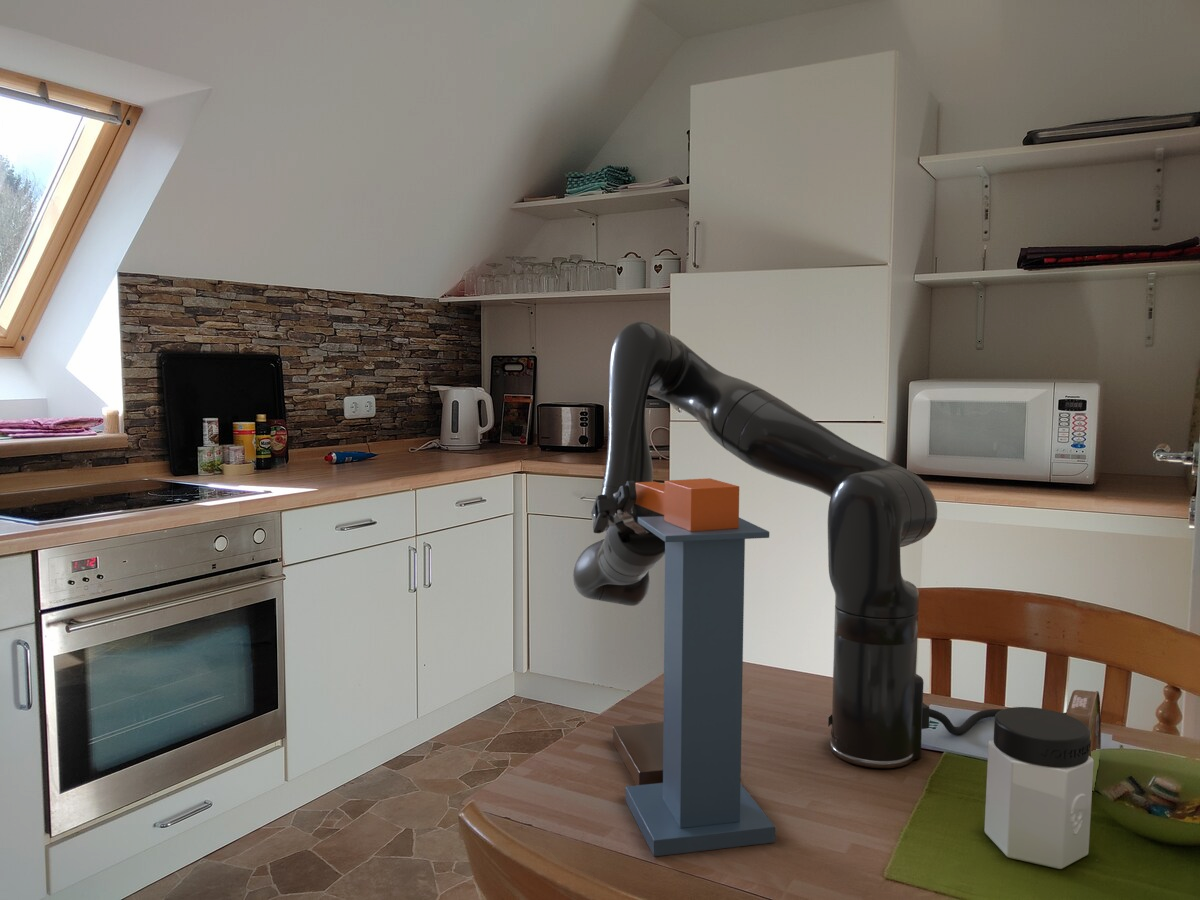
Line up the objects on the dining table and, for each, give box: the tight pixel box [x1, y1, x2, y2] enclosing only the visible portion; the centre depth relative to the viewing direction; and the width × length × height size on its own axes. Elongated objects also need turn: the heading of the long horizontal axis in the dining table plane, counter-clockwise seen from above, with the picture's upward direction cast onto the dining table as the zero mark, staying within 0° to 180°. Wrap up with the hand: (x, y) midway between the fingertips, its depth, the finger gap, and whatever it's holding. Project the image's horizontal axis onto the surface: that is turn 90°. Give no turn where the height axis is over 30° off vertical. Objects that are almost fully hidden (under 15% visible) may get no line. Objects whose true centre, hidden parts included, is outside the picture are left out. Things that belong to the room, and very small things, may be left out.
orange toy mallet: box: [635, 477, 740, 532], centre depth 93 cm, size 5×16×4 cm, turn 20°
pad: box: [612, 721, 664, 786], centre depth 105 cm, size 9×12×2 cm
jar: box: [983, 706, 1094, 870], centre depth 87 cm, size 9×8×12 cm
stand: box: [625, 516, 776, 857], centre depth 90 cm, size 12×11×30 cm
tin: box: [1065, 689, 1102, 757], centre depth 102 cm, size 15×3×8 cm, turn 148°
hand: (671, 487), depth 98 cm, fingers open, 8 cm apart
